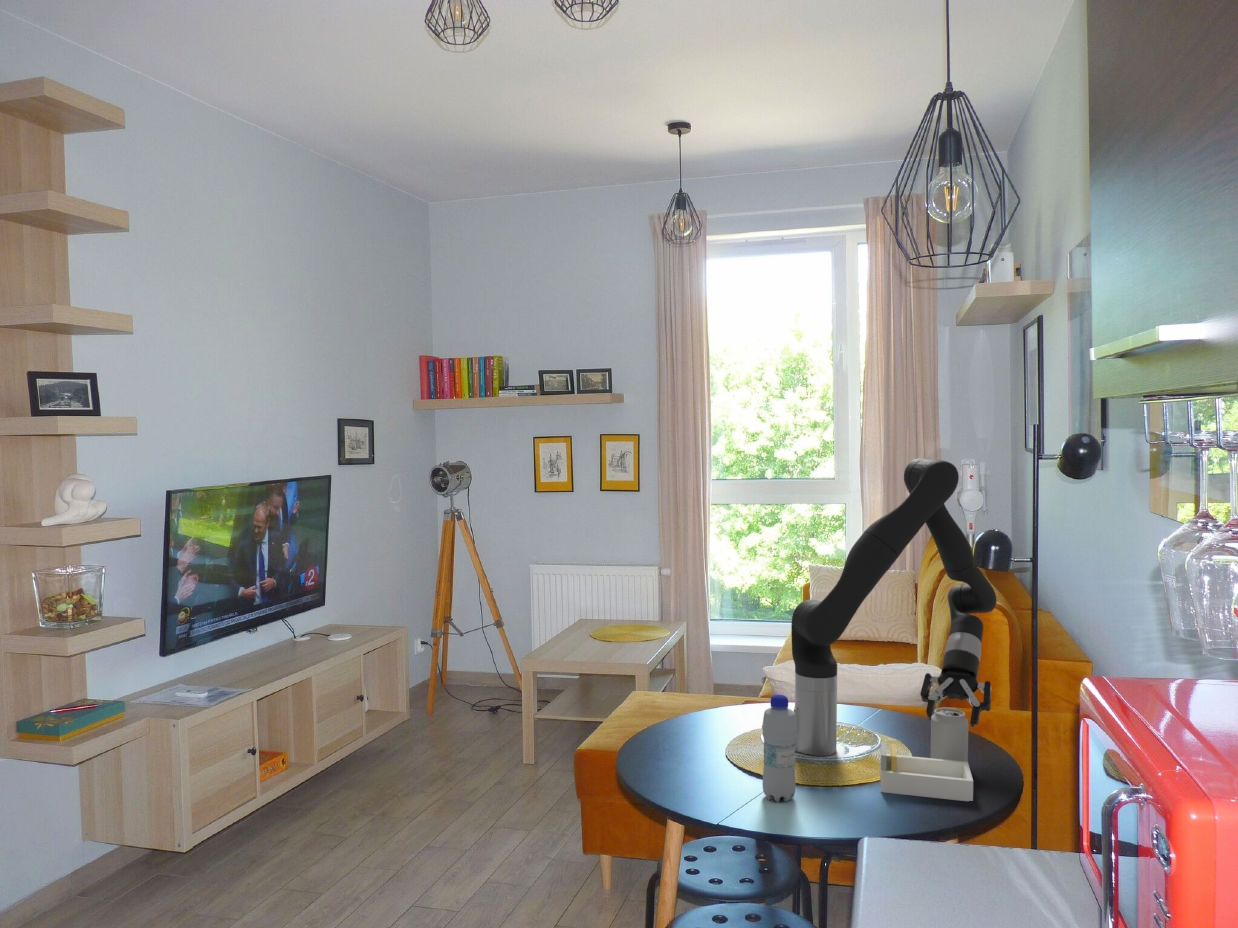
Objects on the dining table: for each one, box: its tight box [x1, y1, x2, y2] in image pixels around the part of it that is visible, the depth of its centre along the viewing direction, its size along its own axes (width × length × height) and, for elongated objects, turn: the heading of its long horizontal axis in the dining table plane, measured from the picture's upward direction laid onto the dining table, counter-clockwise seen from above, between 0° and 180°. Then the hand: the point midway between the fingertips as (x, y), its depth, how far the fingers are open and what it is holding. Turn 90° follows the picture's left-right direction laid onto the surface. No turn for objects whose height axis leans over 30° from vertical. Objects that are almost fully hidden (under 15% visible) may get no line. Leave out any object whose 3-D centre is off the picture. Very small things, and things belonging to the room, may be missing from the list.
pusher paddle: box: [890, 743, 898, 772], centre depth 182 cm, size 1×8×6 cm, turn 164°
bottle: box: [761, 694, 797, 803], centre depth 175 cm, size 7×7×20 cm
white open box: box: [880, 740, 974, 802], centre depth 181 cm, size 17×11×7 cm, turn 74°
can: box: [930, 707, 969, 763], centre depth 192 cm, size 8×8×12 cm
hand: (951, 721), depth 193 cm, fingers open, 8 cm apart
